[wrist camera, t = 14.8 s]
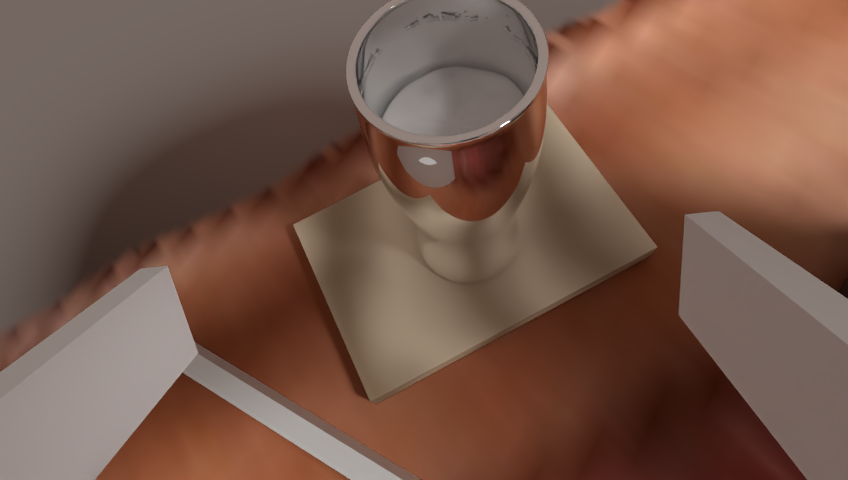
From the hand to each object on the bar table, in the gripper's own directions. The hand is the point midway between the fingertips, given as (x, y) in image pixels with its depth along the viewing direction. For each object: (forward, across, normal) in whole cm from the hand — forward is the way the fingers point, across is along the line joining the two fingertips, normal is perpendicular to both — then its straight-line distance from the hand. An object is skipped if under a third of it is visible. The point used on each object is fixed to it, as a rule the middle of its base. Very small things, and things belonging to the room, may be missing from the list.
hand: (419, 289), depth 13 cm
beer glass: (+17, +1, -5) cm, 17 cm away
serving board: (+18, +1, -6) cm, 19 cm away
